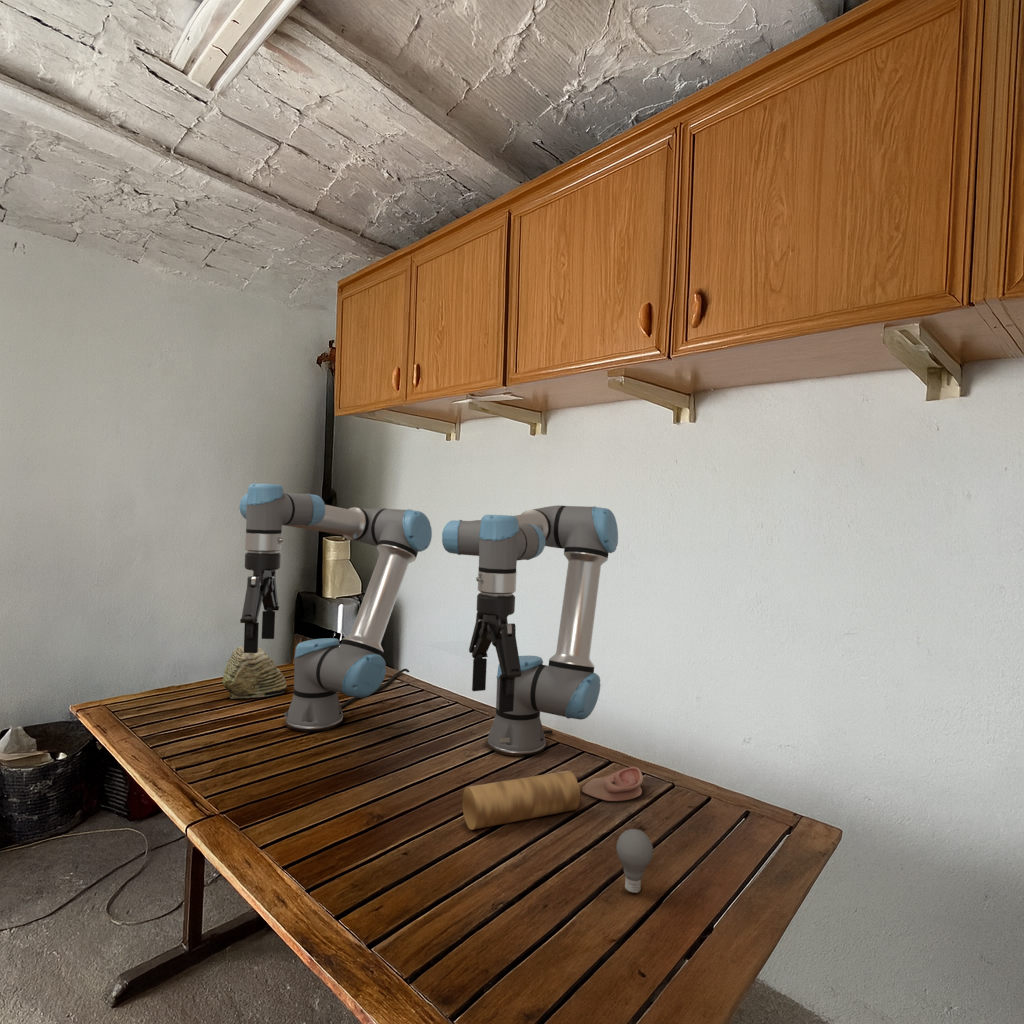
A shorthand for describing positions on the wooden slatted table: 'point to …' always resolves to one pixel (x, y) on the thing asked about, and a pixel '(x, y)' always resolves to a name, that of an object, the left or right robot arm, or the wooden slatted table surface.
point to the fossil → (252, 675)
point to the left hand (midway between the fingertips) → (259, 645)
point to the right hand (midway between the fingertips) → (491, 700)
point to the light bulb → (634, 857)
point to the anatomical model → (616, 785)
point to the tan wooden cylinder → (520, 799)
